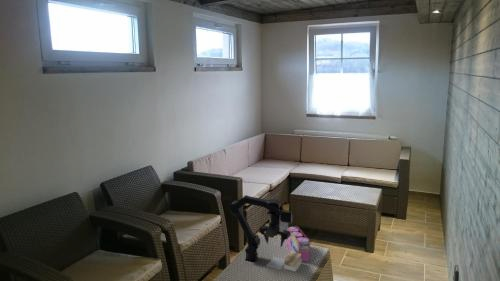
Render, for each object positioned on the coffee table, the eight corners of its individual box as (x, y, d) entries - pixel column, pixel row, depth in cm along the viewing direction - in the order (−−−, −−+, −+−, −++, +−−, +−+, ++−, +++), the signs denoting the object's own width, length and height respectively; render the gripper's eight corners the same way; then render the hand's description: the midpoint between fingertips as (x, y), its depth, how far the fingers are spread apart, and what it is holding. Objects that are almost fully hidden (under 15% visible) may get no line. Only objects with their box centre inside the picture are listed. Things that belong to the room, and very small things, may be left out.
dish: (284, 269, 222) (284, 263, 221) (290, 261, 231) (290, 256, 230) (295, 272, 219) (295, 266, 218) (301, 264, 228) (301, 259, 227)
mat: (265, 266, 225) (265, 266, 225) (274, 257, 236) (274, 256, 236) (279, 270, 221) (279, 269, 221) (287, 260, 232) (287, 259, 232)
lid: (284, 264, 221) (284, 259, 220) (291, 256, 230) (291, 251, 230) (294, 267, 218) (294, 262, 217) (301, 258, 227) (301, 254, 227)
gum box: (285, 244, 253) (285, 226, 250) (296, 243, 254) (296, 224, 252) (298, 262, 230) (298, 242, 227) (310, 261, 232) (310, 240, 229)
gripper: (254, 222, 221) (254, 246, 224) (284, 229, 213) (283, 254, 216) (263, 216, 231) (262, 239, 234) (291, 222, 222) (290, 246, 225)
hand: (274, 244), depth 227 cm, fingers open, 9 cm apart
